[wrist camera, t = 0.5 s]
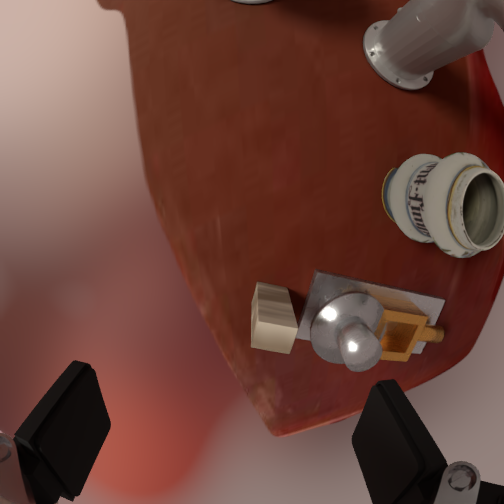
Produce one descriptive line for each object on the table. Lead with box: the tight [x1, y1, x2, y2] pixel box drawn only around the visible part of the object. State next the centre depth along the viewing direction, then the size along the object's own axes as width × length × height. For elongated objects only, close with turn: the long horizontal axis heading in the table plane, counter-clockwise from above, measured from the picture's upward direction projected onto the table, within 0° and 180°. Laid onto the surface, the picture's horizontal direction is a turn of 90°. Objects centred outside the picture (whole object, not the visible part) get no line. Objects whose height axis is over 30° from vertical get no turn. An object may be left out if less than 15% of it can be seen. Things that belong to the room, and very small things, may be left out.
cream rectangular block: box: [251, 281, 298, 354], centre depth 37 cm, size 4×4×12 cm
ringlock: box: [295, 269, 445, 372], centre depth 38 cm, size 11×25×13 cm, turn 77°
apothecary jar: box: [382, 152, 504, 258], centre depth 30 cm, size 12×12×18 cm
